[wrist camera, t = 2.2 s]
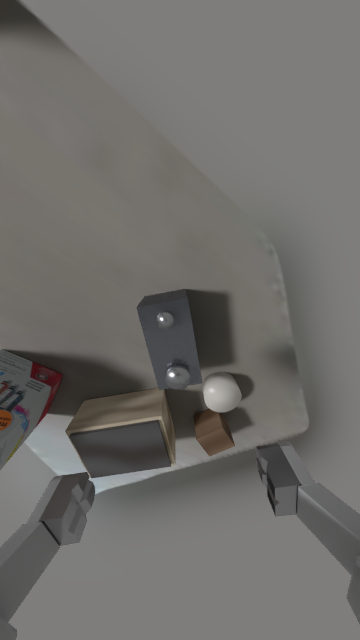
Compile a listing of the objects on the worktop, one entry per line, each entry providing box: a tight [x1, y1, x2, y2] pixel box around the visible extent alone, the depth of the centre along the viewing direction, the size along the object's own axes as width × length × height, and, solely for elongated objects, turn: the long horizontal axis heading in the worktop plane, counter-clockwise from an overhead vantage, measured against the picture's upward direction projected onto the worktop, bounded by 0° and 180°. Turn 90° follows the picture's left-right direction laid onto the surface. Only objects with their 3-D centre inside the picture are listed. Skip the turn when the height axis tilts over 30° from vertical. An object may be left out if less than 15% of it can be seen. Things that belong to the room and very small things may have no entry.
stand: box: [65, 388, 175, 478], centre depth 26 cm, size 9×12×5 cm
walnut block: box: [194, 409, 235, 456], centre depth 27 cm, size 4×4×4 cm
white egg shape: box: [202, 372, 242, 412], centre depth 26 cm, size 5×5×2 cm
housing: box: [137, 289, 202, 390], centre depth 21 cm, size 10×5×6 cm, turn 10°
